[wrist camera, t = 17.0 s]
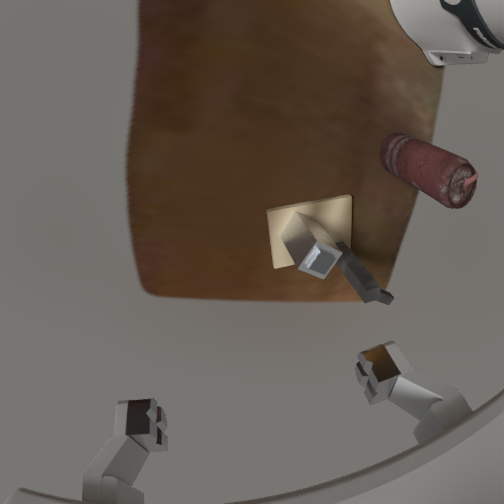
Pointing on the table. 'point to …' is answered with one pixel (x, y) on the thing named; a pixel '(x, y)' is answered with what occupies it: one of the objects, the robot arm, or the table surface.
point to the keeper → (338, 228)
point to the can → (430, 169)
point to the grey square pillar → (310, 246)
